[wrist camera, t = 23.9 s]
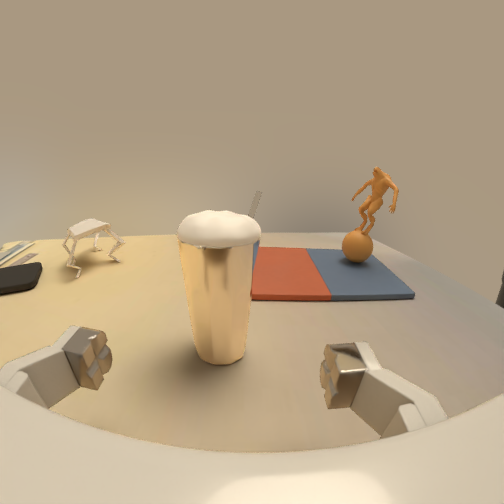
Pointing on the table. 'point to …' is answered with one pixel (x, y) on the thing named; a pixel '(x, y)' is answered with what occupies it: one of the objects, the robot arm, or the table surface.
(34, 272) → the phone
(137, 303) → the table surface
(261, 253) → the sorting board
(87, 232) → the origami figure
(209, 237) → the milkshake
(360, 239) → the figurine
